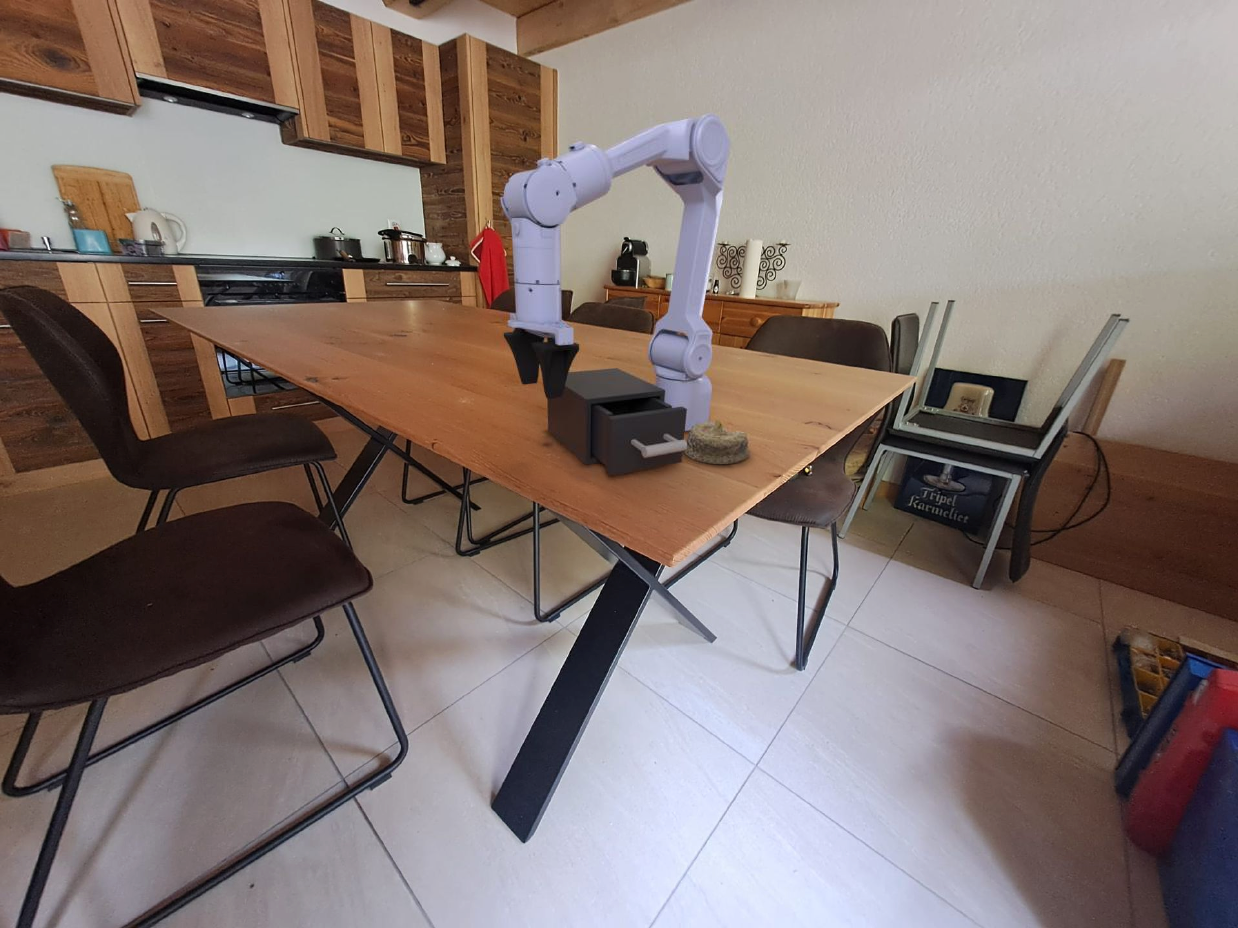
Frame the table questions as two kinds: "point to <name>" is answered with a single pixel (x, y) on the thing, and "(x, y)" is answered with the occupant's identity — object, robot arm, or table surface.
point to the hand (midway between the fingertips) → (541, 390)
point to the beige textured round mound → (716, 444)
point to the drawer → (637, 434)
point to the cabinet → (574, 407)
